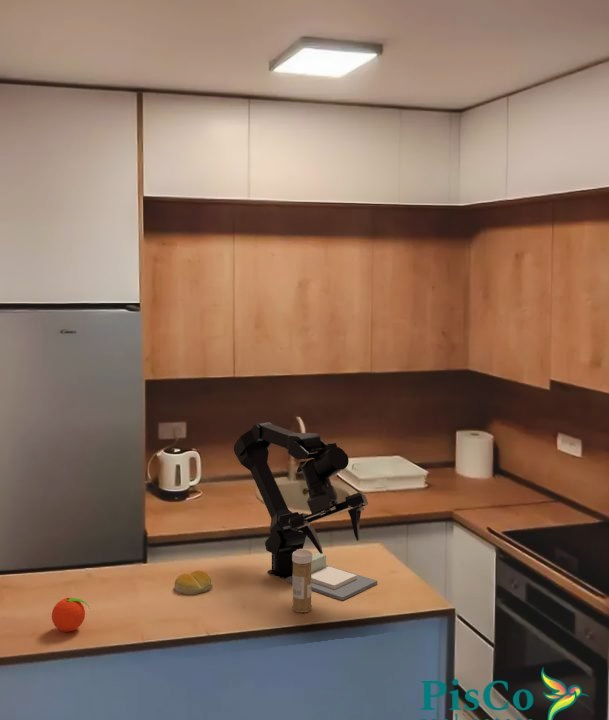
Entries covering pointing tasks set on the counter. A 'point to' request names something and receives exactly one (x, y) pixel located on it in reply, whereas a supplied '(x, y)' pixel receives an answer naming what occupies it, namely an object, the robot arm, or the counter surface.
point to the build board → (335, 580)
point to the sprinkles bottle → (302, 580)
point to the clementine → (68, 614)
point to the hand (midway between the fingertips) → (339, 547)
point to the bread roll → (193, 583)
